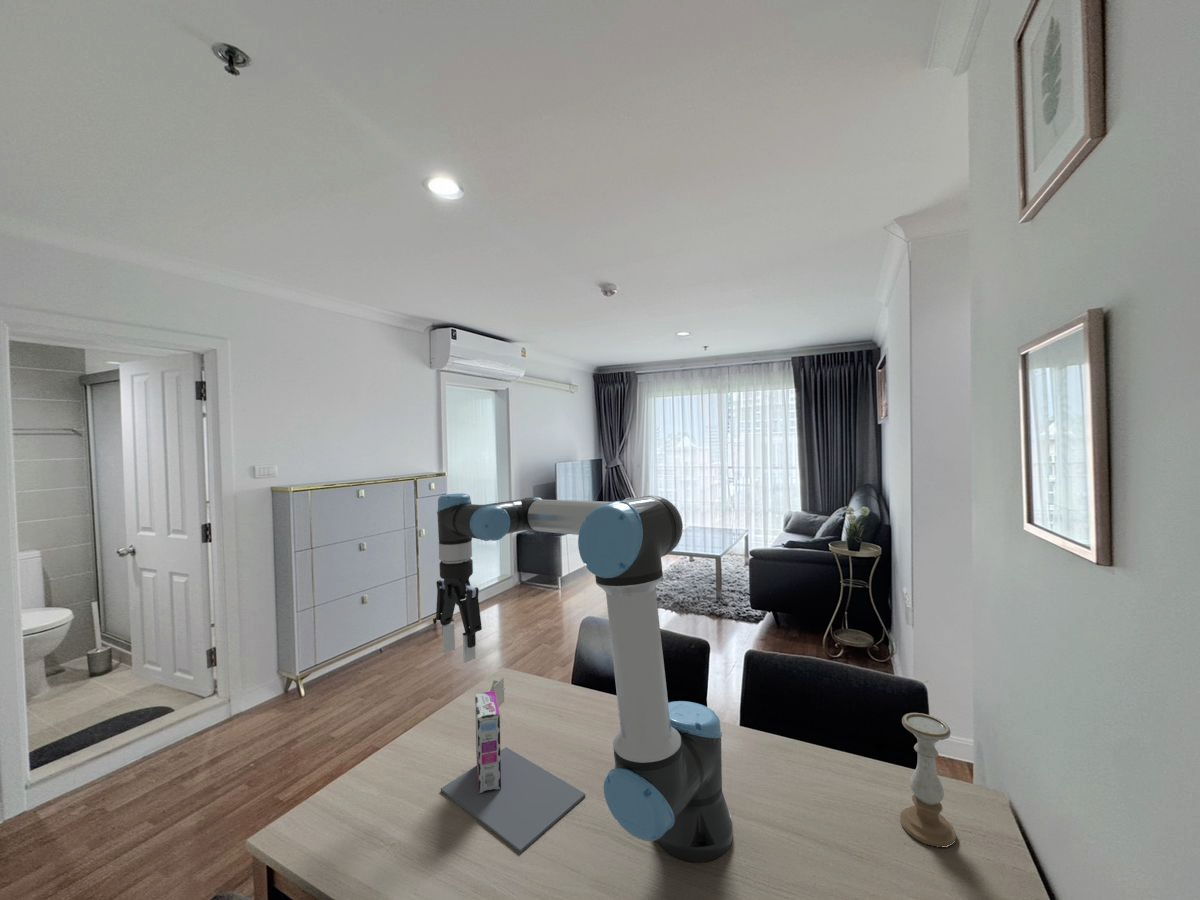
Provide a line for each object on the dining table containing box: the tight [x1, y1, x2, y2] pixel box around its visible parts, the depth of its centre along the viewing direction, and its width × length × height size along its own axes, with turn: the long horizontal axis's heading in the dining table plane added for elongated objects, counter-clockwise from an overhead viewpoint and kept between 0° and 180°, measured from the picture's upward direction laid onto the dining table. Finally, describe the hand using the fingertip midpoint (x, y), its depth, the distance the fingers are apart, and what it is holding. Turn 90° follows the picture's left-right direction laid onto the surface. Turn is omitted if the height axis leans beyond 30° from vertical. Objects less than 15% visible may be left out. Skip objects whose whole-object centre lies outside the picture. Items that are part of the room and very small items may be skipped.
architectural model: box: [489, 677, 506, 708], centre depth 141 cm, size 3×7×7 cm, turn 162°
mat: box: [440, 746, 586, 854], centre depth 105 cm, size 26×18×1 cm
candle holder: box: [899, 712, 957, 848], centre depth 92 cm, size 9×9×20 cm
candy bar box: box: [474, 691, 501, 794], centre depth 109 cm, size 11×5×16 cm, turn 17°
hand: (459, 655), depth 116 cm, fingers open, 8 cm apart
